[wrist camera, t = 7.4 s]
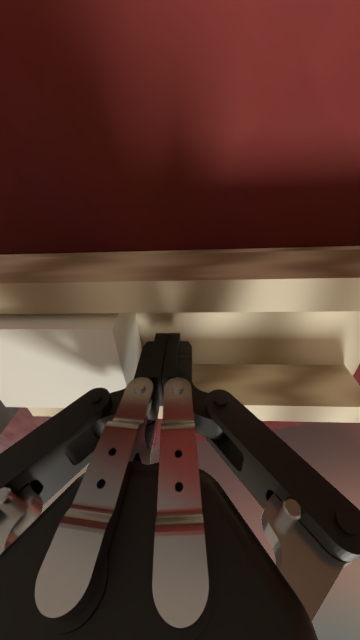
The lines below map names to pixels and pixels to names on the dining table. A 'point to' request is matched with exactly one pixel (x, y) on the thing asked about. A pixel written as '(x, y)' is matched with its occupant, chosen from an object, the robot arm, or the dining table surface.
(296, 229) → the dining table surface
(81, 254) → the birch chute
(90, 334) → the off-white block
